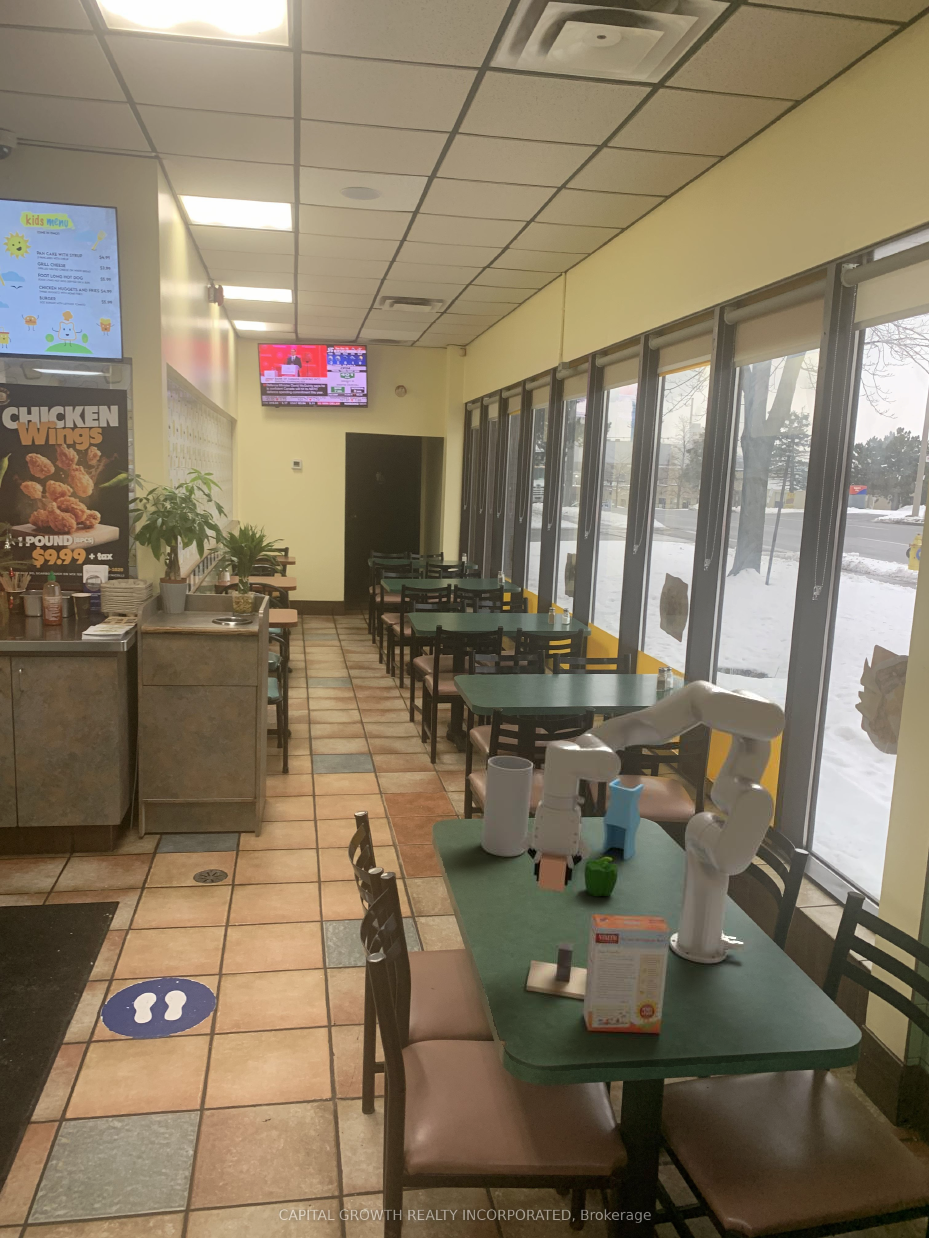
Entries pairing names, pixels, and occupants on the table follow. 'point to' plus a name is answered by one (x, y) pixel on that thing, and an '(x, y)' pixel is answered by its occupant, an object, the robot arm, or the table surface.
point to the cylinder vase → (506, 805)
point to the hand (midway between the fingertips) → (552, 879)
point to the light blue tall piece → (622, 818)
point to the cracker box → (626, 973)
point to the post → (558, 975)
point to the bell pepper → (600, 876)
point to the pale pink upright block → (552, 871)
